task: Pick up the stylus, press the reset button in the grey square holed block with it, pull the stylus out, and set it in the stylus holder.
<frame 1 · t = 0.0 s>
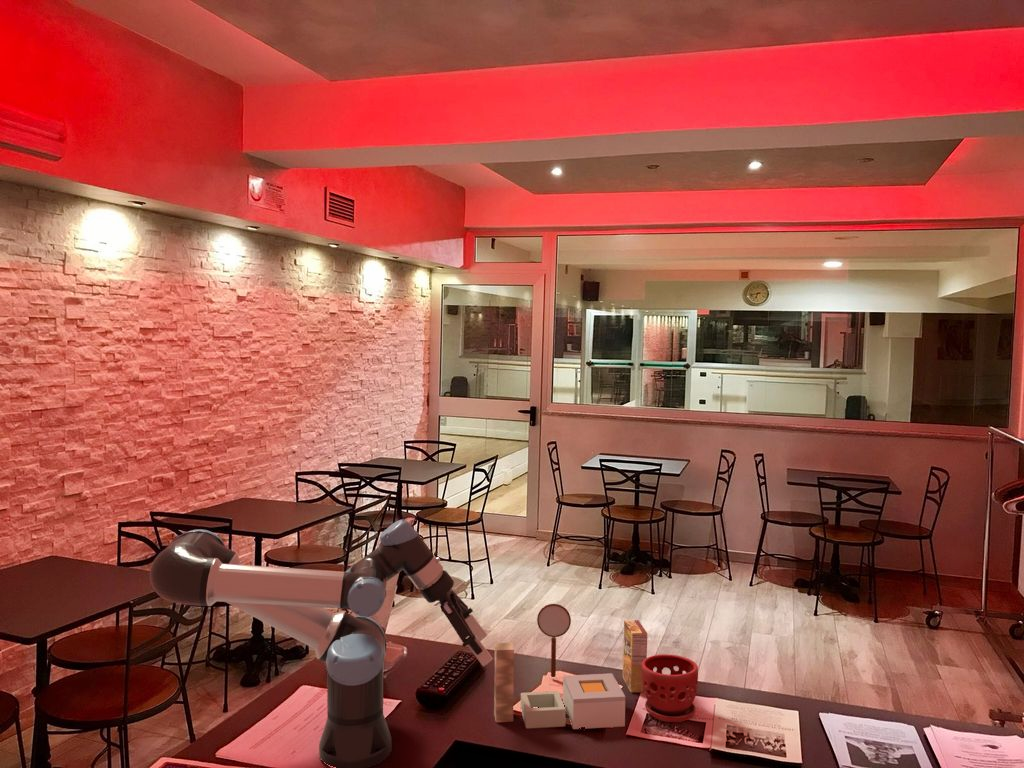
hand: (485, 650, 182), 15 cm above the worktop, tool tilted 35°, fingers open, 13 cm apart
reset button: (593, 694, 183), point 5 cm above the worktop, slide at 0.0 cm
stylus holder: (542, 717, 182), on the worktop
plant pot: (668, 713, 185), on the worktop
candy box: (634, 685, 199), on the worktop
grey square holed block: (592, 714, 183), on the worktop
stylus: (503, 717, 182), on the worktop
magnifying glass: (553, 680, 201), on the worktop
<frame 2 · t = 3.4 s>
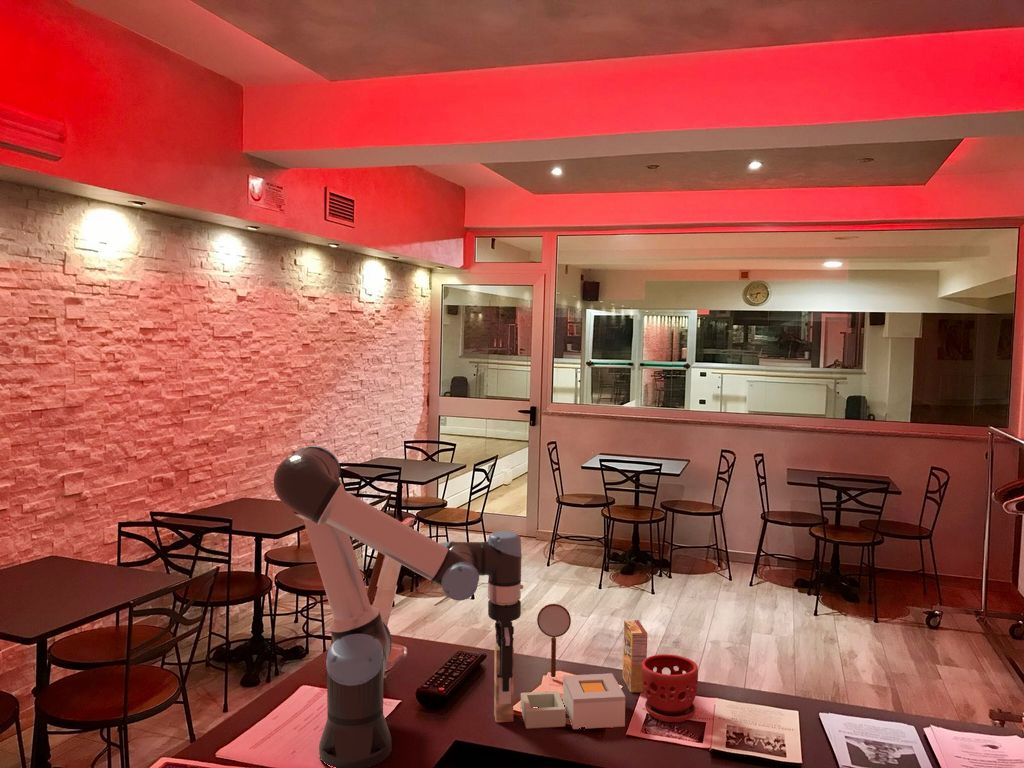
hand: (503, 698, 181), 5 cm above the worktop, tool pointing down, fingers closed on stylus, 4 cm apart
stylus: (503, 717, 182), on the worktop, touching gripper
everything else where it was.
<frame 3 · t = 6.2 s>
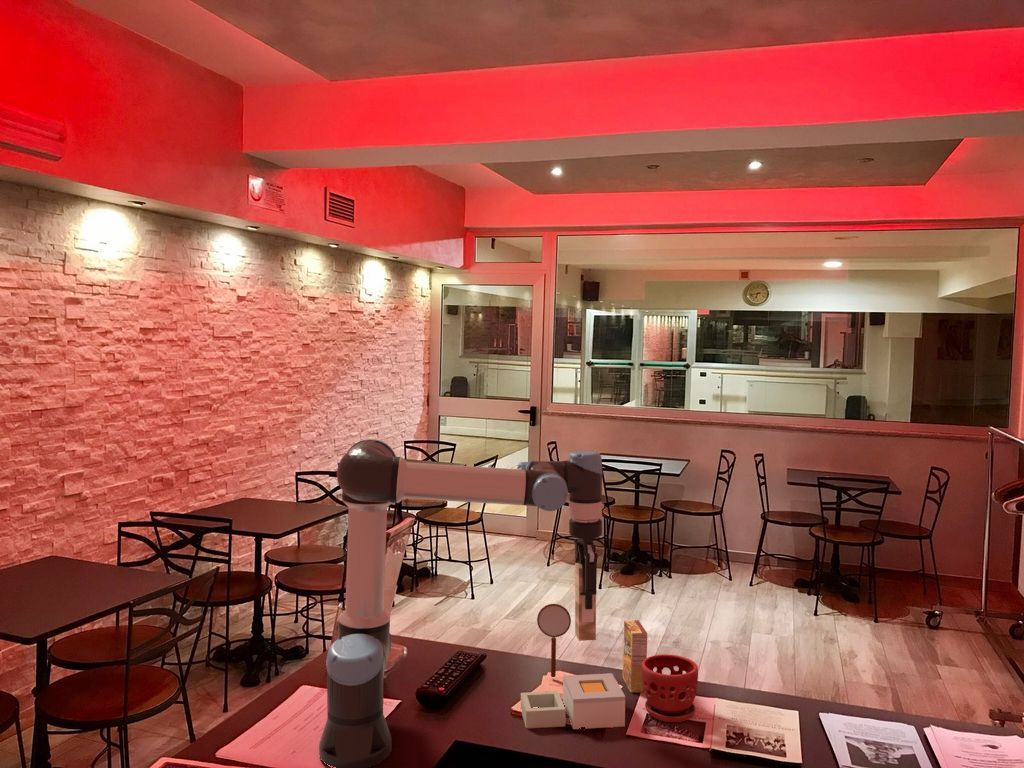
hand: (585, 617, 181), 23 cm above the worktop, tool pointing down, fingers closed on stylus, 4 cm apart
stylus: (585, 636, 182), point 19 cm above the worktop, touching gripper
everything else where it was.
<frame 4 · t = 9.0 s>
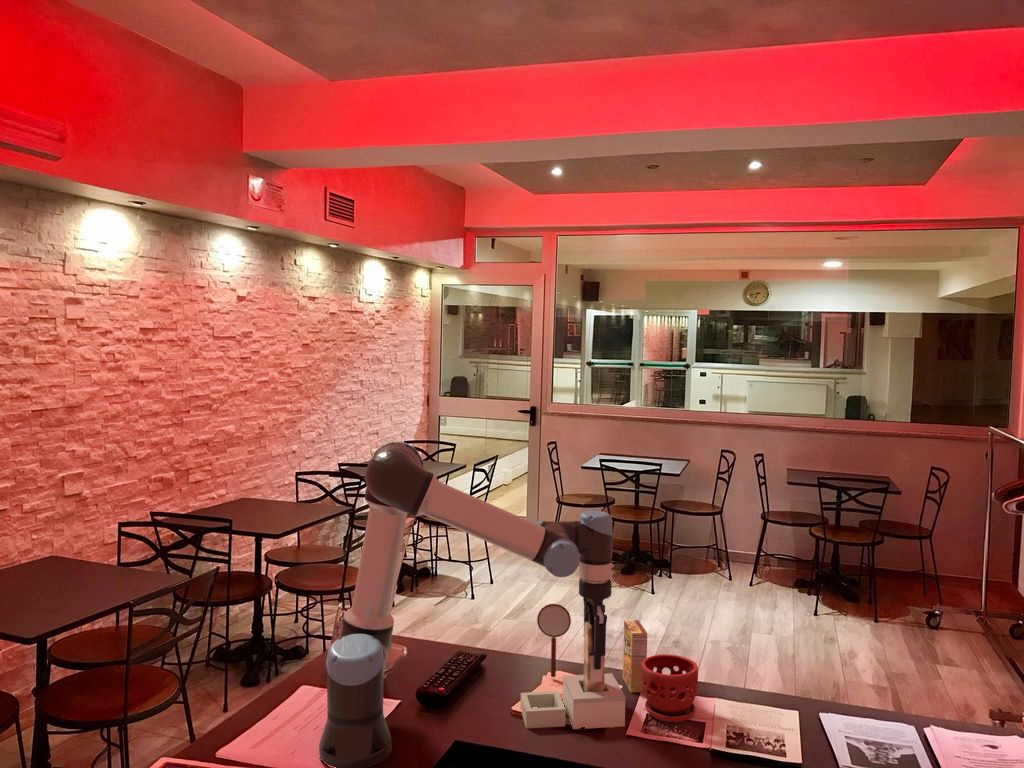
hand: (593, 676, 183), 9 cm above the worktop, tool pointing down, fingers closed on stylus, 4 cm apart
reset button: (593, 701, 183), point 3 cm above the worktop, slide at 1.9 cm, touching stylus
stylus: (593, 695, 183), point 5 cm above the worktop, touching gripper, reset button
everything else where it was.
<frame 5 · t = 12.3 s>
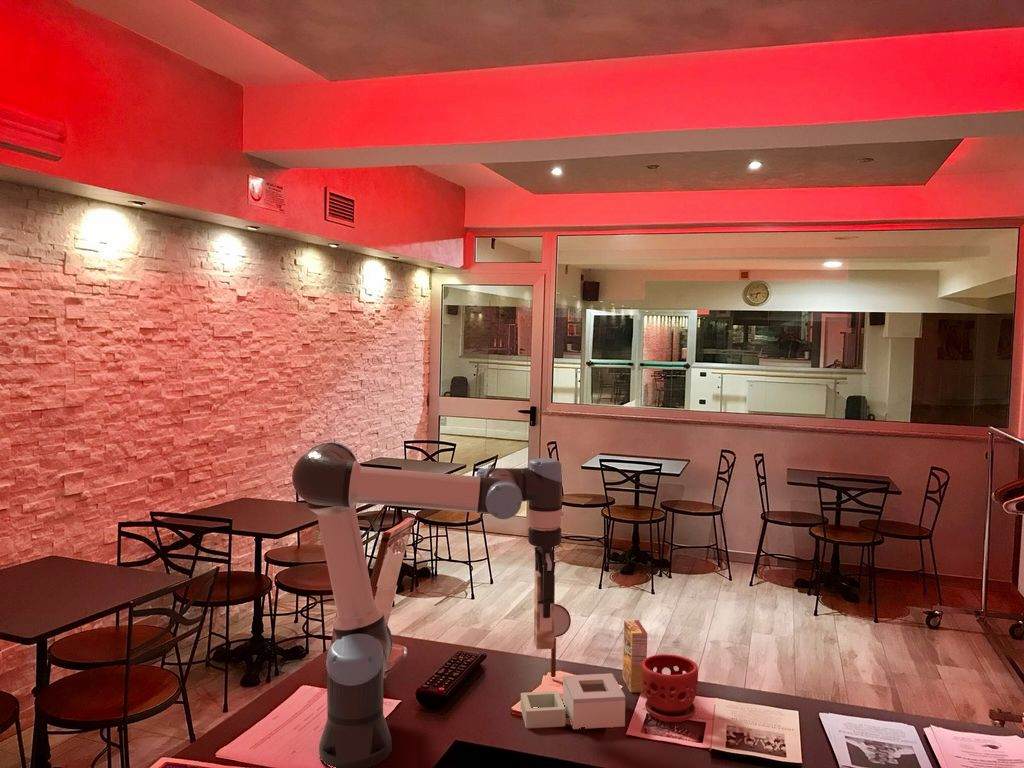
hand: (543, 626, 180), 22 cm above the worktop, tool pointing down, fingers closed on stylus, 4 cm apart
reset button: (593, 701, 183), point 3 cm above the worktop, slide at 1.9 cm
stylus: (543, 645, 180), point 17 cm above the worktop, touching gripper
everything else where it was.
when the fingers open (6 cm above the worktop, at t = 15.6 s): stylus drops 1 cm, resting in stylus holder.
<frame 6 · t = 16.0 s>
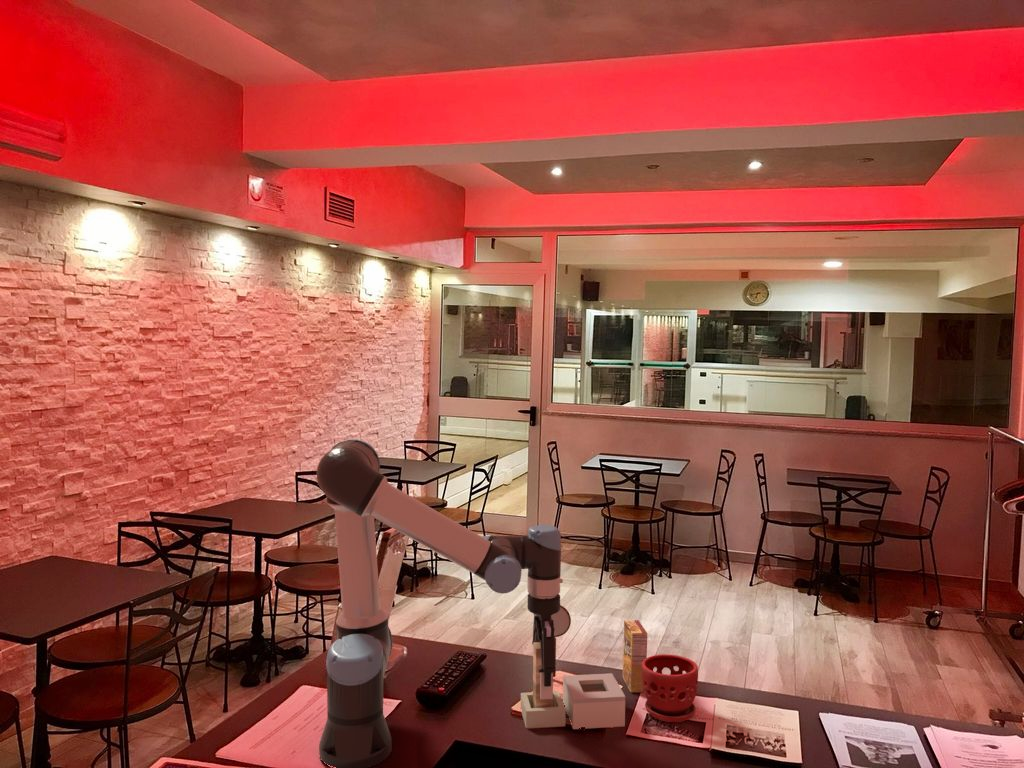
hand: (542, 688, 181), 7 cm above the worktop, tool pointing down, fingers open, 9 cm apart
stylus: (542, 717, 182), resting in stylus holder
everything else where it was.
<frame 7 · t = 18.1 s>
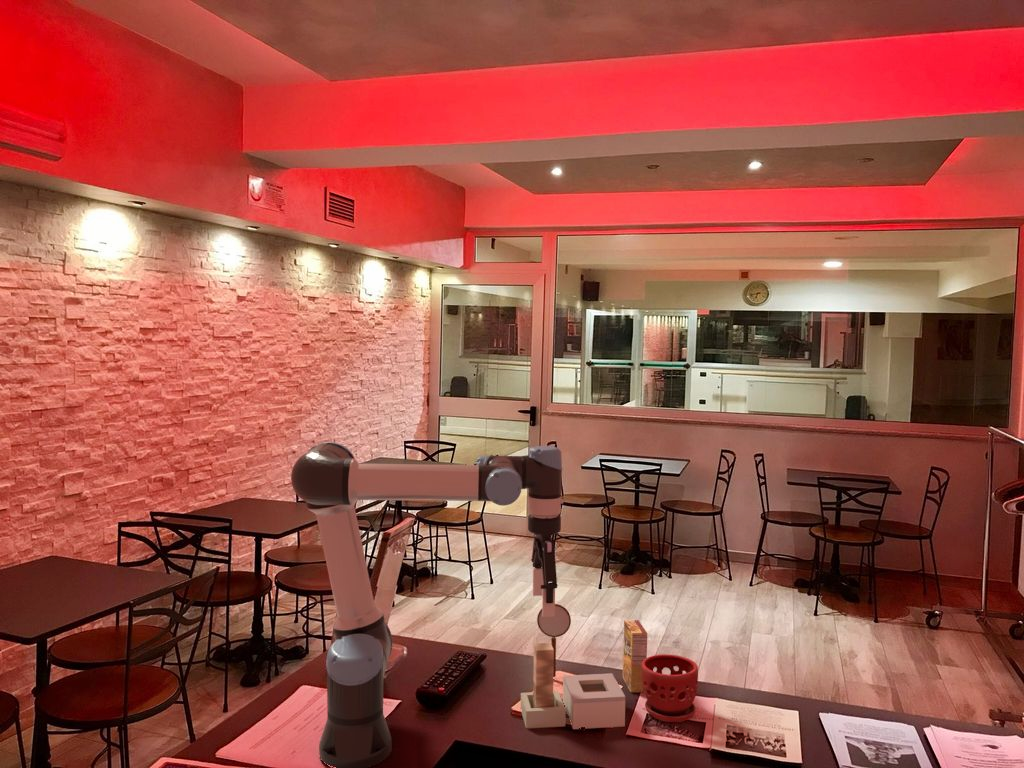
hand: (543, 605, 180), 27 cm above the worktop, tool pointing down, fingers open, 13 cm apart
nothing on the worktop moved.
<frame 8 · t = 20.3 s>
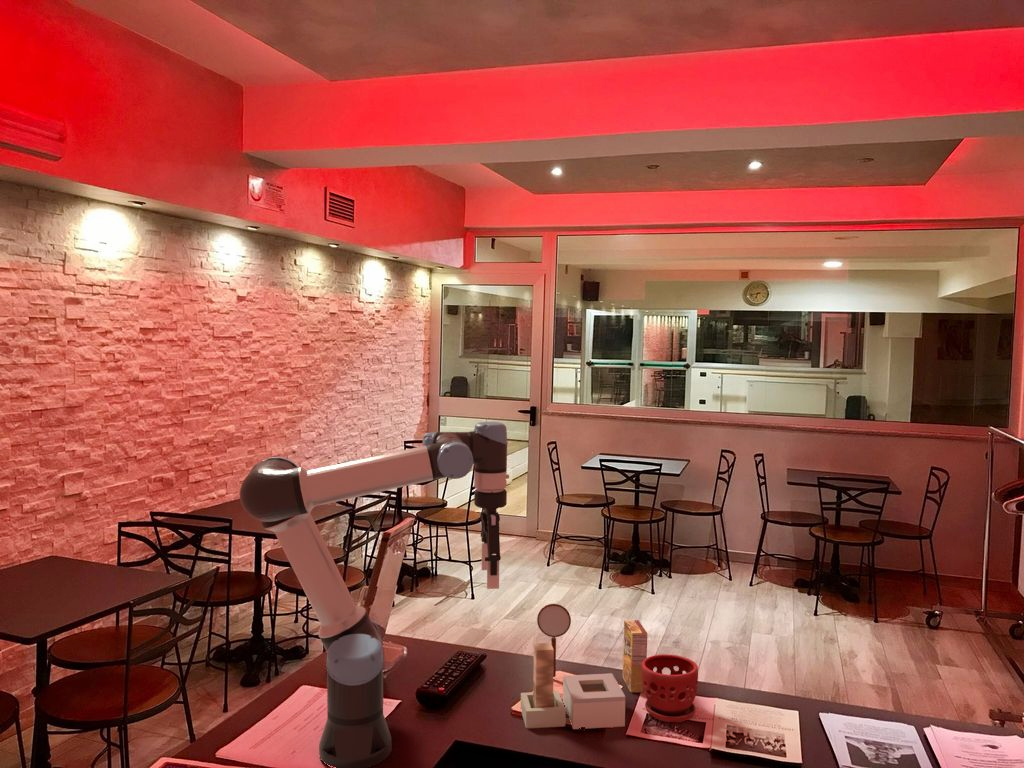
hand: (489, 578, 183), 32 cm above the worktop, tool pointing down, fingers open, 13 cm apart
nothing on the worktop moved.
at the end: reset button slide at 1.9 cm; stylus 0.1 cm off-centre on the stylus holder, point 0.0 cm above the stylus holder's base; stylus tilted 0° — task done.
